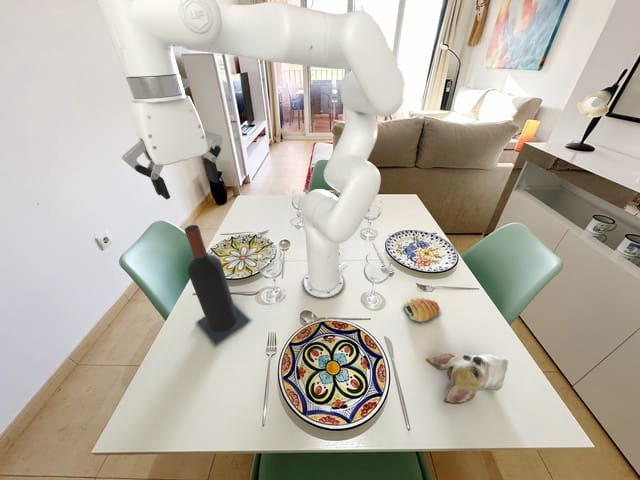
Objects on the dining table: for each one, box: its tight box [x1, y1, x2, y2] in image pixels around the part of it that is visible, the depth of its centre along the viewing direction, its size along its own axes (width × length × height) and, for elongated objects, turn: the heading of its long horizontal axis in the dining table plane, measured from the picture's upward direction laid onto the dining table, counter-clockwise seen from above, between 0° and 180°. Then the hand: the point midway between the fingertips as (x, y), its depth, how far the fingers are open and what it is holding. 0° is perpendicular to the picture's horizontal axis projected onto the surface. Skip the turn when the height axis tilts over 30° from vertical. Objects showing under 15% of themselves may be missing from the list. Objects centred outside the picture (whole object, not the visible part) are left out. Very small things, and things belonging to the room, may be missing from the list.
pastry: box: [403, 297, 440, 323], centre depth 75 cm, size 9×7×4 cm
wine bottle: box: [184, 224, 237, 332], centre depth 66 cm, size 8×8×30 cm
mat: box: [197, 305, 250, 345], centre depth 74 cm, size 10×10×1 cm
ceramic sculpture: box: [424, 353, 509, 405], centre depth 57 cm, size 11×9×15 cm
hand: (190, 188), depth 53 cm, fingers open, 9 cm apart
